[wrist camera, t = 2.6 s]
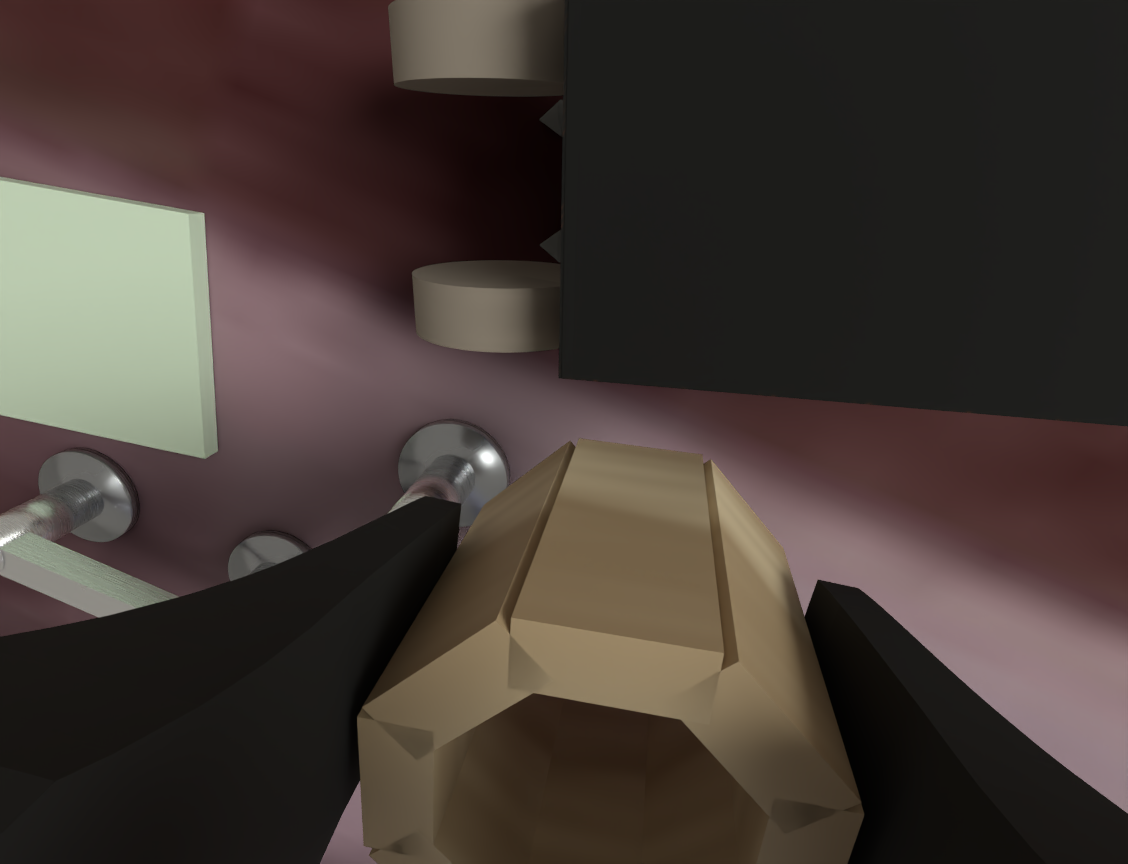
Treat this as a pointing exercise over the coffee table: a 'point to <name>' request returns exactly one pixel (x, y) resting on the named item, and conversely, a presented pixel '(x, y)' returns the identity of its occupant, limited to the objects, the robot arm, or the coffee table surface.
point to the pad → (106, 317)
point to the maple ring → (608, 684)
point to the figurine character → (808, 196)
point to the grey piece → (111, 507)
